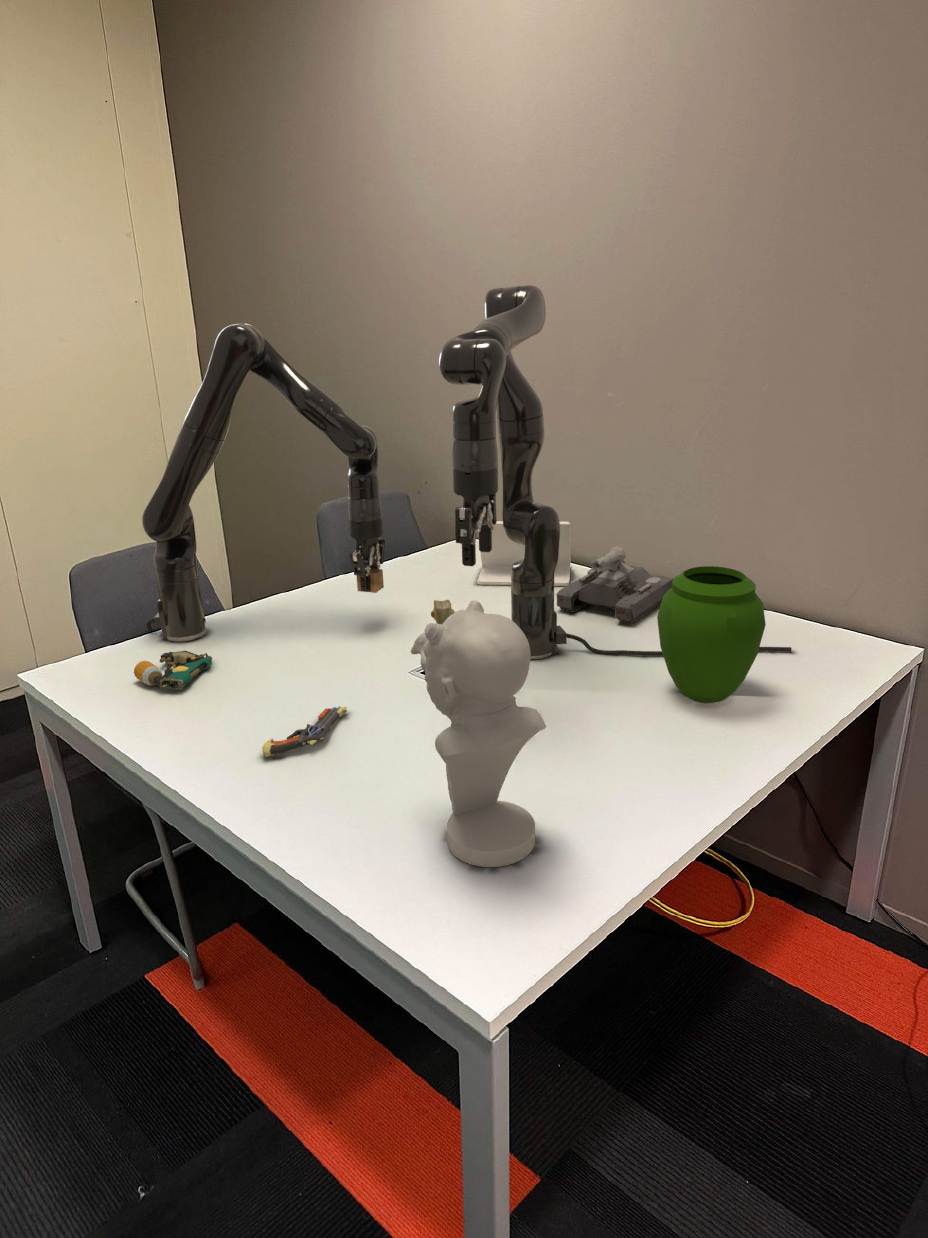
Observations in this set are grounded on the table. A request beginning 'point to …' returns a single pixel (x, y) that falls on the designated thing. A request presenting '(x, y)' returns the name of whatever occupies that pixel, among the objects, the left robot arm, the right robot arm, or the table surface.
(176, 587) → the left robot arm
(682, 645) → the vase
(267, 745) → the toy gun
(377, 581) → the block
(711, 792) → the table surface
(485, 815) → the bust sculpture
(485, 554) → the tablet stand
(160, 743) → the table surface
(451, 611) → the sculpture
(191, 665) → the spray gun
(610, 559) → the toy
